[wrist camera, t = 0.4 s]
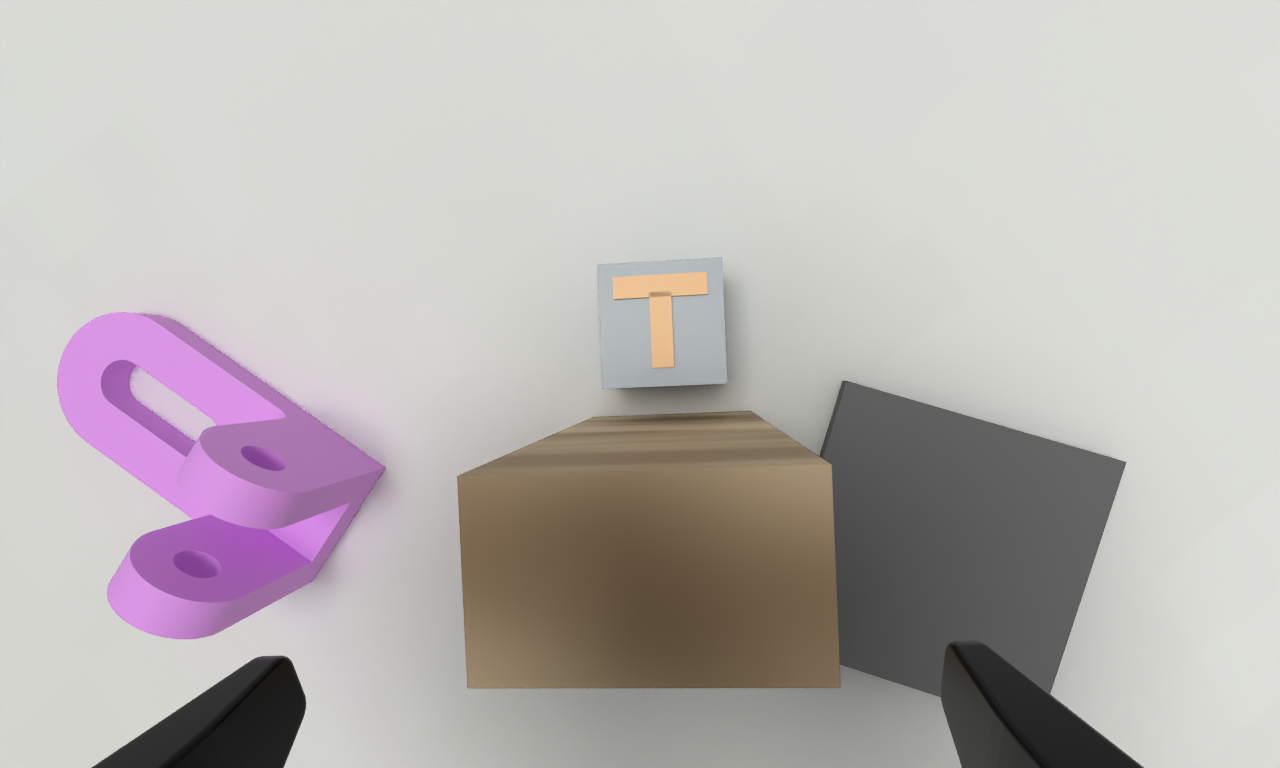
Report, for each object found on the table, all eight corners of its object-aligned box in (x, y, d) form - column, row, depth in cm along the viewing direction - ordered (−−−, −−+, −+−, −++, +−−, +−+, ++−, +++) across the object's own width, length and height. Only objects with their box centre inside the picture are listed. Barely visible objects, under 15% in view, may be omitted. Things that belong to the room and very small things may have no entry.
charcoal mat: (1029, 719, 23) (1038, 728, 22) (764, 633, 24) (766, 640, 23) (1115, 459, 23) (1126, 462, 22) (843, 380, 23) (846, 381, 23)
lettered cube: (721, 381, 24) (727, 383, 20) (617, 386, 24) (601, 388, 20) (717, 276, 24) (722, 256, 20) (613, 282, 24) (596, 264, 20)
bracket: (387, 466, 25) (271, 502, 18) (314, 579, 25) (173, 657, 19) (134, 289, 26) (-70, 259, 19) (67, 401, 26) (-158, 411, 19)
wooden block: (754, 503, 24) (840, 687, 10) (597, 507, 24) (467, 687, 10) (750, 410, 24) (831, 465, 10) (593, 417, 24) (457, 476, 10)
